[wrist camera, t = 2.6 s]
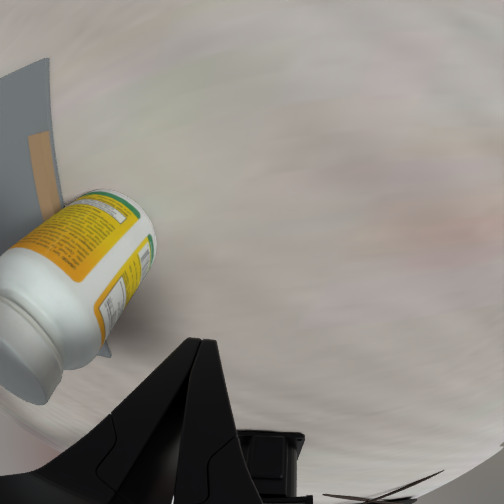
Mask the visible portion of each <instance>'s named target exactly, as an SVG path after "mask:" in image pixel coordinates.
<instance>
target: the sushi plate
mask: <svg viewBox="0 0 504 504" xmlns="http://www.w3.org/2000/svg"><path fill="white" fill-rule="evenodd" d="M443 471H444V470H443ZM443 471H440V472H438V473H436V474H433V475H431V476H428V477H426V478H423V479H421V480H418V481H416V482H413V483H411V484H409V485H407V486H405V487H402V488H400V489H398V490H395V491H393V492H390V493H388V494H385V495H383V496H380V497H378V498H375V499H372V500H369V499H363V498H357V497H351V496H341V495H330V494H322V495H324V496H330V497H335V498H342V499H349V500H357V501H366V502H364V503H361V504H367V503H370V502H376V503H374V504H412V503H414V502H415V501H417V499H407V500H396V501H389V502H385V501H377V500H378V499H381V498H384V497H386V496H389V495H392V494H394V493H397V492H399V491H402V490H404V489H407V488H409V487H411V486H414V485H416V484H418V483H420V482H422V481H425V480H427V479H429V478H431V477H433V476H435V475H437V474H439V473H441V472H443Z"/></svg>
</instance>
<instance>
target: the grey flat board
mask: <svg viewBox="0 0 504 504" xmlns="http://www.w3.org/2000/svg"><path fill="white" fill-rule="evenodd" d="M63 208H64V203H63V198H62V193H61V187H60V182H59V176H58V170H57V163H56V156H55V149H54V141H53V132H52V121H51V108H50V89H49V58H44V59H42V60H39V61H37V62H35V63H32V64H30V65H28V66H25V67H23V68H21V69H19V70H17V71H14V72H12V73H10V74H8V75H6V76H4V77H2V78H0V256H1V255H2V254H3V253H5V252H6V251H7V250H8V249H9V248H11V247H12V246H13V245H14V244H16V243H17V242H18V241H20V240H21V239H22V238H24V237H25V236H26V235H28V234H29V233H30V232H31V231H33V230H34V229H35V228H37V227H38V226H39V225H41V224H42V223H43V222H45V221H46V220H48V219H49V218H50V217H52V216H53V215H54V214H56V213H57V212H59V211H60V210H62V209H63ZM97 355H98V356H103V357H108V358H111V356H112V355H111V352H110V350H109V348H108V345H107V343H106V341H105V342H104V344H103V345H102V347H101V349H100V350H99V352H98V354H97Z"/></svg>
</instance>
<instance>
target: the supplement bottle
mask: <svg viewBox="0 0 504 504" xmlns="http://www.w3.org/2000/svg"><path fill="white" fill-rule="evenodd" d="M156 246H157V245H156V236H155V232H154V228H153V226H152V223H151V221H150V219H149V218H148V216H147V215H146V213H145V212H144V210H143V209H142V208H141V207H140V206H139V205H138V204H137V203H136V202H134V201H133V200H132V199H130V198H128V197H127V196H125V195H123V194H121V193H119V192H116V191H113V190H107V189H99V190H94V191H91V192H88V193H87V194H85V195H83V196H81V197H80V198H78V199H77V200H75V201H74V202H72V203H71V204H69V205H67V206H66V207H64V208H63V209H62V210H60V211H59V212H57V213H56V214H54V215H53V216H52V217H50V218H49V219H48V220H46V221H45V222H43V223H42V224H41V225H39V226H38V227H37V228H35V229H34V230H33V231H31V232H30V233H29V234H28V235H26V236H25V237H24V238H22V239H21V240H20V241H18V242H17V243H16V244H14V245H13V246H12V247H11V248H9V249H8V250H7V251H6V252H5V253H3V254H2V255H1V256H0V384H1V385H2V386H3V387H5V388H6V389H7V390H8V391H10V392H11V393H13V394H14V395H16V396H17V397H19V398H21V399H23V400H25V401H27V402H30V403H32V404H36V405H44V404H46V403H47V402H48V400H49V399H50V397H51V395H52V394H53V392H54V390H55V389H56V387H57V385H58V384H59V383H60V382H61V379H62V374H63V370H74V369H78V368H82V367H84V366H86V365H87V364H89V363H90V362H91V361H92V360H93V359H94V358H95V357H96V355H97V354H98V352H99V350H100V349H101V347H102V345H103V344H104V342H105V341H106V339H107V337H108V335H109V334H110V332H111V330H112V329H113V327H114V325H115V324H116V322H117V320H118V319H119V317H120V315H121V314H122V312H123V310H124V309H125V307H126V305H127V304H128V302H129V301H130V299H131V297H132V296H133V294H134V293H135V291H136V290H137V288H138V287H139V285H140V284H141V282H142V280H143V279H144V277H145V276H146V274H147V273H148V271H149V269H150V268H151V266H152V264H153V261H154V258H155V255H156Z"/></svg>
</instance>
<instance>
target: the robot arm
mask: <svg viewBox="0 0 504 504" xmlns="http://www.w3.org/2000/svg"><path fill="white" fill-rule="evenodd" d="M304 441H305V435H304V434H276V433H255V432H241V431H237V430H236V426H235V422H234V418H233V414H232V409H231V405H230V401H229V396H228V392H227V388H226V383H225V379H224V374H223V369H222V365H221V360H220V355H219V350H218V345H217V341H216V340H211V339H203V340H201V339H200V338H191V337H189V338H187V339H185V340H184V341H183V342H182V343H181V344H180V345H179V346H178V347H177V348H176V349H175V350H174V351H173V352H172V353H171V354H170V355H169V356H168V357H167V358H166V359H165V360H164V361H163V362H162V363H161V364H160V365H159V366H158V367H157V368H156V369H155V370H154V371H153V372H152V373H151V374H150V375H149V376H148V377H147V378H146V379H145V380H144V381H143V382H142V383H141V384H140V385H139V386H138V387H137V388H136V389H135V390H134V391H133V392H131V393H130V394H129V395H128V396H127V397H126V398H125V399H124V400H123V401H122V402H121V403H120V404H119V405H118V406H117V407H116V408H115V409H114V410H113V411H112V412H111V414H109V415H108V416H106V417H105V418H104V419H103V420H102V421H101V422H100V423H99V424H98V425H97V426H96V427H95V428H94V429H92V430H91V431H90V432H89V433H88V434H87V435H85V436H84V437H83V438H81V439H80V440H79V441H78V442H76V443H75V444H74V445H72V446H71V447H70V448H68V449H67V450H65V451H64V452H63V453H61V454H60V455H59V456H57V457H56V458H54V459H53V460H52V461H50V462H49V463H47V464H46V465H44V466H43V467H41V468H39V469H36V470H34V471H31V472H27V473H21V474H13V475H5V476H0V504H172V500H173V496H174V501H173V504H313V495H306V496H303V497H296V493H297V460H298V457H299V454H300V452H301V449H302V446H303V444H304Z"/></svg>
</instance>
